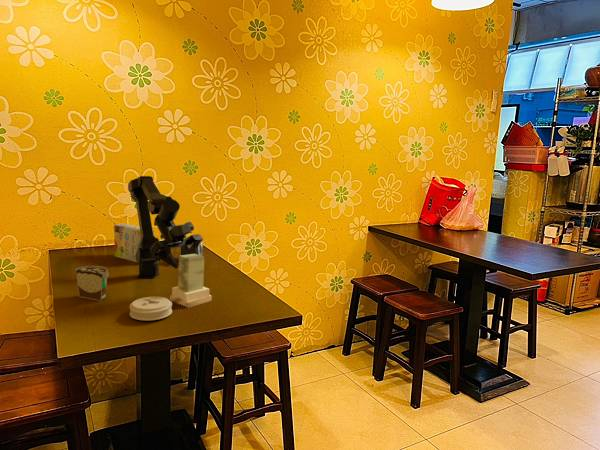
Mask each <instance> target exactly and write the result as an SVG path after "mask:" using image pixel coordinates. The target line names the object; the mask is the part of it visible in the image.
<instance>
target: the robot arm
mask: <svg viewBox="0 0 600 450" xmlns="http://www.w3.org/2000/svg"><path fill="white" fill-rule="evenodd" d="M127 189H128V192H129V194H130V198H131V199H132V201H134V202H135V204H136V211H137V218H138V226H139V227H140V233H141V240H140V242H139V244H138V249H137V252H136V255H135V258H136V261H137V262H138V263H137V262H136V263H137V264H138V273H139V274H138V275H137V278H139V279H140V278H141V279H143V278H144V279H154V278H156V277H158V276H159V275H160V271H159V269H160V268H159V267H160V266H159V264H158V262H161V261H163V262H165V263H167V264H168V265H169V266H171V267H173V268H174V269H177V270H178V269H179V264H178V263H177V262H176V259H175V257H174V256H173V254H172V249H176V248H181V247H182V246H185V247H186V248H187V249H188V251H187V252H188V253H189V254H197V255H199V252H198V246H199V244H200V243H201V242H202V240H204V238H203V239H202V235H201V234H199V233H198V234H197V233H196V234H192V231H194V229H195V226H194V224H193V223H192V221H186V223H184V224H177V225H176V222H175V221H174V220H176V217H177V215H178V212H179V211H180V207H181V206H180V205H181V204H180V203H179V201H177V200H175V199H173V198H172V196H167V195H165V194H162V193H161V192H160V190H159V189H158V187H157V185H156V184H155V182H154V177H153V176H151V175H141V176H138V177H137V178H134V179H131V180H130V181H128V183H127ZM152 215H155V218H154V220H153V221H154V222H153V225H154V227H157V228H158V231H159V232H160V234H161V235H160V236H159V237H160V239H161V240H159V238H158V237H156V236H155V234H154V235H153V230H152V229H153V225H152V217H151V216H152ZM188 234H191V235H190V237H189V236H188V237H189V238H188V239H187V240H183V239H185V238H187V235H188Z"/></svg>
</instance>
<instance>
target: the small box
mask: <svg viewBox="0 0 600 450" xmlns="http://www.w3.org/2000/svg"><path fill="white" fill-rule="evenodd" d="M190 236H191V235H190ZM190 236H186V238H184V239H183V240H187V239H188V238H189V237H190ZM201 237H202V236H201ZM202 239H203V240H204V237H202ZM203 240H202V242H201V243H200V244H199V246H198V252H199V255H200V256H203V254H204V253H203V245H204V244H203V243H204V241H203ZM187 251H188V249H187V248H186V247H185V246H182V247H180V255H188V254H189V253H188V252H187ZM203 257H204V256H203Z"/></svg>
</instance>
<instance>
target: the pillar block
mask: <svg viewBox="0 0 600 450" xmlns="http://www.w3.org/2000/svg"><path fill="white" fill-rule="evenodd" d="M204 276H205V256H200V255H197V254H188V255H181V254H180V255H178V283H177V285H178V287H179V288H181V289H184V290H186V291H193V290H198V289H203V286H204V281H205V280H204V279H205V277H204Z"/></svg>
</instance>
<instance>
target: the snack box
mask: <svg viewBox="0 0 600 450" xmlns="http://www.w3.org/2000/svg"><path fill="white" fill-rule="evenodd" d="M113 228H114V229H113V230H114V231H113V232H114V234H113V235H114V236H113V237H114V240H113V241H114V257H115V258H120V259H122V260H126V261H130V262H134V263H137V264H139V263H138V262H137V261H136V258H135V255H136V252H137V249H138V244H139V242H140V240H141V233H140V226H139V225H133V224H128V223H118V224H114V225H113ZM152 230H153V235H154V236H155V229H153V228H152Z"/></svg>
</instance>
